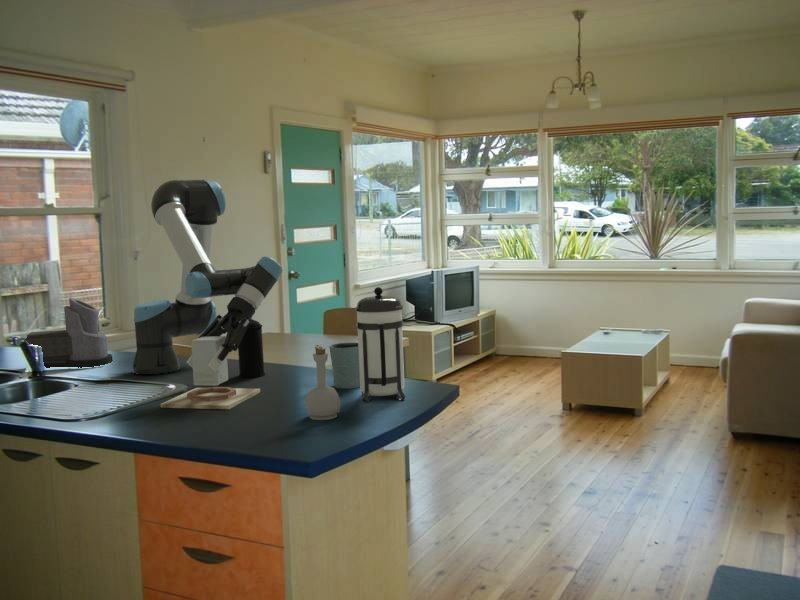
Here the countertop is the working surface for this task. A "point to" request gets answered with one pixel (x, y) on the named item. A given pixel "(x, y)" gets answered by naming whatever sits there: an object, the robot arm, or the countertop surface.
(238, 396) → the collar board
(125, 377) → the countertop surface
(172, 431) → the countertop surface
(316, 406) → the potion bottle
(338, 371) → the teal cup
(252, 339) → the aerosol can
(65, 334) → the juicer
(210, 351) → the supplement box
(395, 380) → the coffee press
